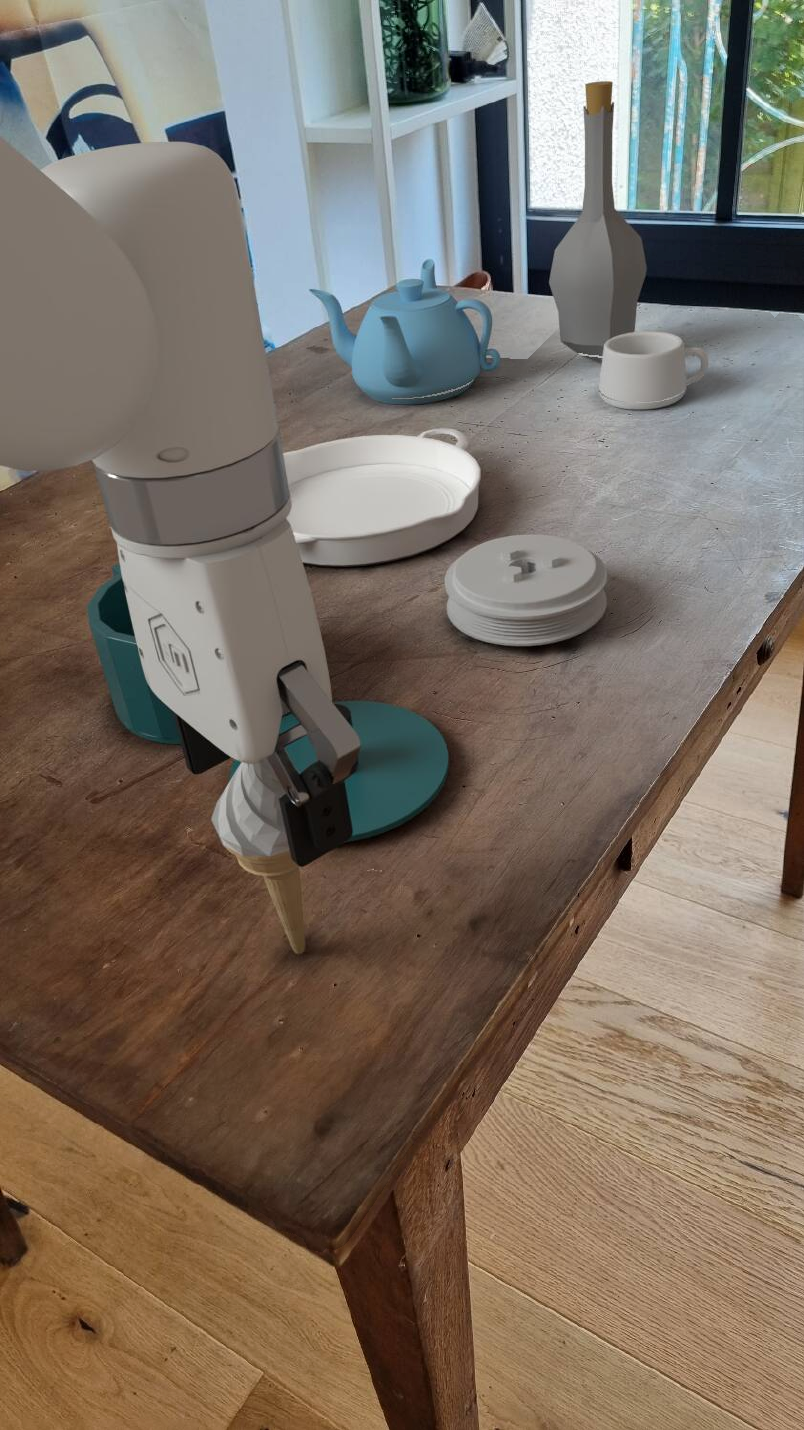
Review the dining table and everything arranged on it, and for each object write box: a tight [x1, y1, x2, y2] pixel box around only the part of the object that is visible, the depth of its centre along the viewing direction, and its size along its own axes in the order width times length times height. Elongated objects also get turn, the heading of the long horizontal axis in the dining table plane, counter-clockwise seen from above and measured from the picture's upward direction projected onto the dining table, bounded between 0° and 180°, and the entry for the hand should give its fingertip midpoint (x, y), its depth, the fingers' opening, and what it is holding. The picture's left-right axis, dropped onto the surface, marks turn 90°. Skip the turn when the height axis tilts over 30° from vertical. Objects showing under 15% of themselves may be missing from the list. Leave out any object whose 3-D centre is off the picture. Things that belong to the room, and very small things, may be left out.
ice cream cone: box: [210, 757, 306, 955], centre depth 57 cm, size 6×6×15 cm
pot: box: [86, 562, 181, 745], centre depth 82 cm, size 14×19×8 cm
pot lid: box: [229, 700, 450, 843], centre depth 73 cm, size 15×15×5 cm
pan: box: [283, 427, 482, 568], centre depth 106 cm, size 24×27×4 cm
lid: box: [444, 533, 608, 647], centre depth 87 cm, size 13×13×5 cm
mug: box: [598, 330, 709, 410], centre depth 123 cm, size 12×10×6 cm
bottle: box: [548, 80, 648, 363], centre depth 127 cm, size 11×11×30 cm
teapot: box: [308, 258, 502, 405], centre depth 132 cm, size 17×19×12 cm
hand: (267, 802), depth 55 cm, fingers open, 9 cm apart
